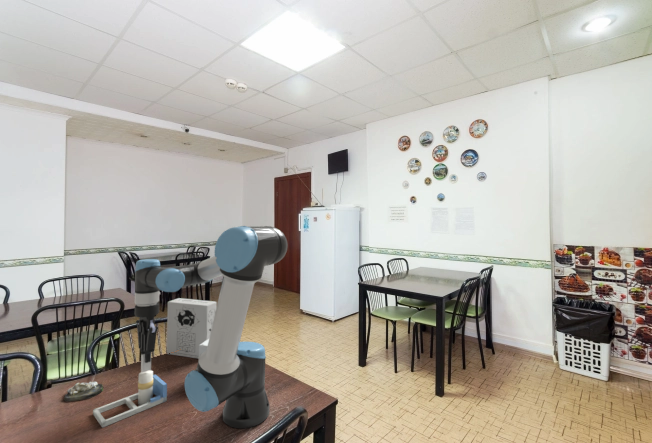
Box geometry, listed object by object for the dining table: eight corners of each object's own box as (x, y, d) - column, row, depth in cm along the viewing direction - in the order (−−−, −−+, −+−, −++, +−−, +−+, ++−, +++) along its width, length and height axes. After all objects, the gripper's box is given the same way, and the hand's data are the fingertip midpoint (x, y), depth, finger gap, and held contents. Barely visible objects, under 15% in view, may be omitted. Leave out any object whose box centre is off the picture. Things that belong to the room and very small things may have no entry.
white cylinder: (155, 401, 109) (155, 373, 109) (140, 407, 106) (141, 378, 106) (149, 396, 112) (150, 368, 112) (135, 401, 109) (136, 373, 109)
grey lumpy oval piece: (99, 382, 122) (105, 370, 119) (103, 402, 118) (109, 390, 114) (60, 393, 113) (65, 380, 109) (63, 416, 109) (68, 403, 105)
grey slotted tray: (155, 390, 116) (155, 374, 116) (166, 400, 110) (167, 383, 110) (93, 414, 102) (93, 395, 102) (102, 427, 95) (102, 408, 95)
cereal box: (215, 353, 149) (216, 301, 149) (206, 360, 142) (207, 305, 142) (177, 347, 155) (178, 297, 155) (166, 354, 147) (167, 301, 147)
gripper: (166, 304, 108) (165, 372, 108) (151, 298, 116) (150, 361, 116) (142, 309, 102) (141, 380, 102) (128, 302, 110) (127, 368, 110)
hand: (145, 370), depth 109 cm, fingers closed
